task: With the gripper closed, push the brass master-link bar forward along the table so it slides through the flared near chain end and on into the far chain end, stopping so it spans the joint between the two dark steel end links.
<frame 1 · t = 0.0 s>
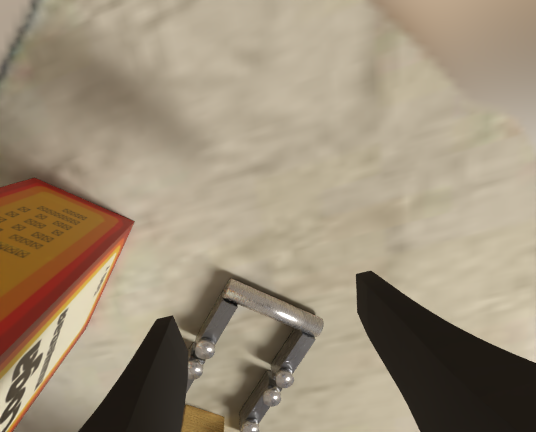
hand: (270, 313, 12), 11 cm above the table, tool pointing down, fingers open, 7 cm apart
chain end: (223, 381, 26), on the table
baking soda box: (63, 258, 21), on the table
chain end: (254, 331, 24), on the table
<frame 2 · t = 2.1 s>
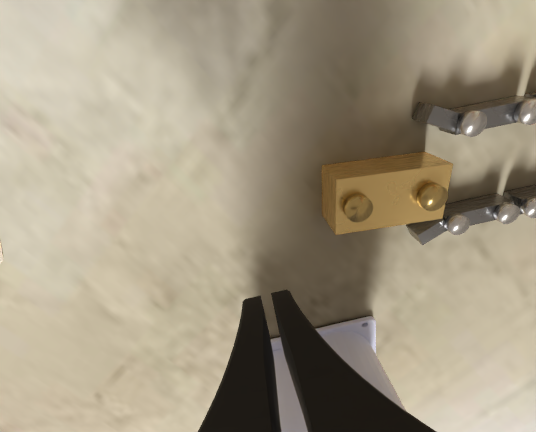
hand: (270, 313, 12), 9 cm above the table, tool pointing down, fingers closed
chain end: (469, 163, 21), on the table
master link: (370, 183, 21), on the table
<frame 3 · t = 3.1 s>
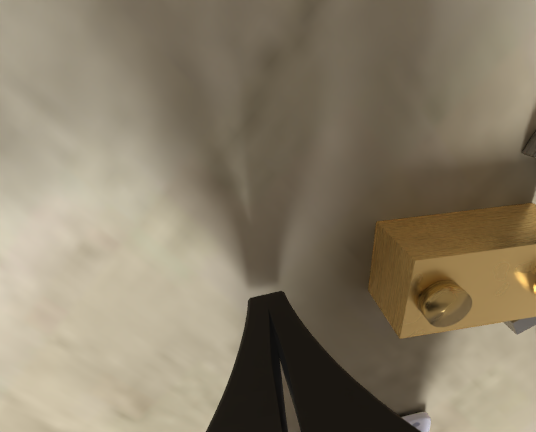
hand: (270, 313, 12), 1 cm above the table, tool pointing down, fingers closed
master link: (443, 245, 14), on the table
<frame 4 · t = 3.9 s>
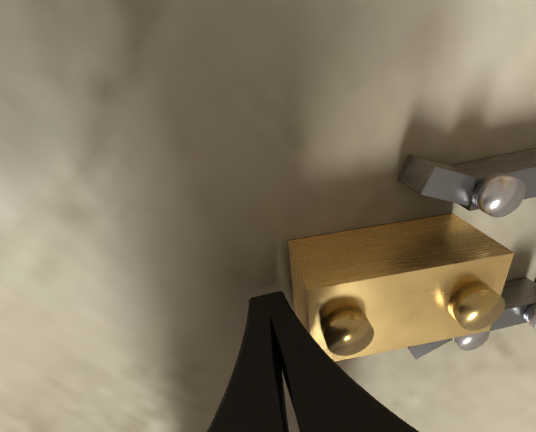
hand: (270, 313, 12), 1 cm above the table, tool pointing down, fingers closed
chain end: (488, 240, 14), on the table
master link: (370, 262, 13), on the table, touching gripper
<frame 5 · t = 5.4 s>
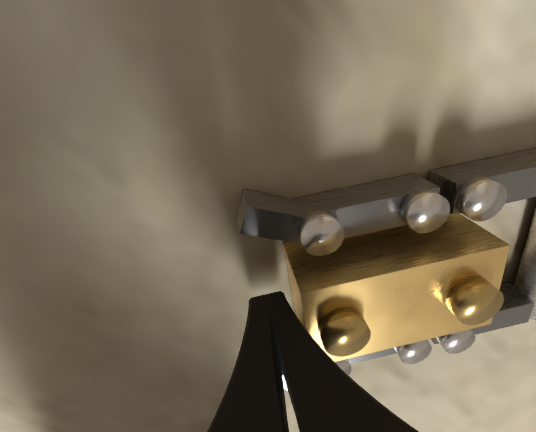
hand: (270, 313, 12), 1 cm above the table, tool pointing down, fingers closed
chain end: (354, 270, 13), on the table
master link: (367, 260, 13), on the table, touching gripper
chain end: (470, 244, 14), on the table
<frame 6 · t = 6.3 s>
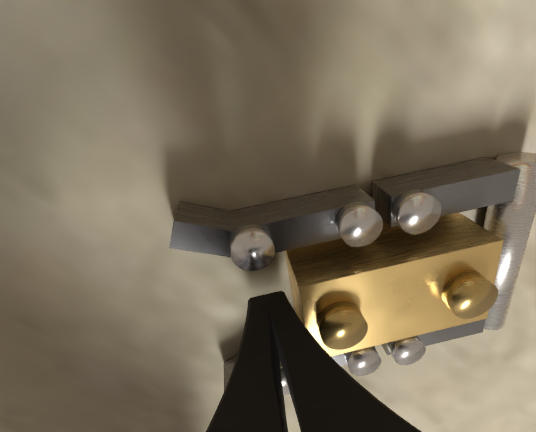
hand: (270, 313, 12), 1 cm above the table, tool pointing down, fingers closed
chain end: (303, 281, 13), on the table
master link: (365, 257, 13), on the table
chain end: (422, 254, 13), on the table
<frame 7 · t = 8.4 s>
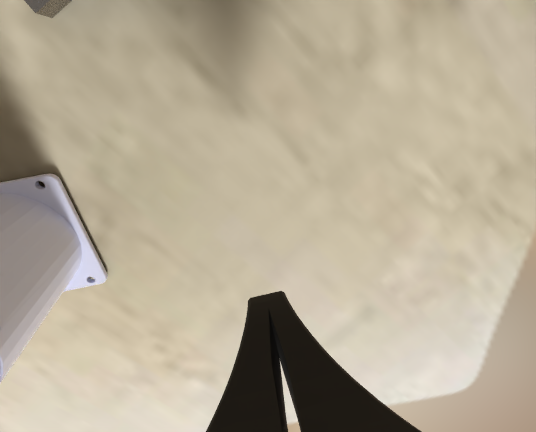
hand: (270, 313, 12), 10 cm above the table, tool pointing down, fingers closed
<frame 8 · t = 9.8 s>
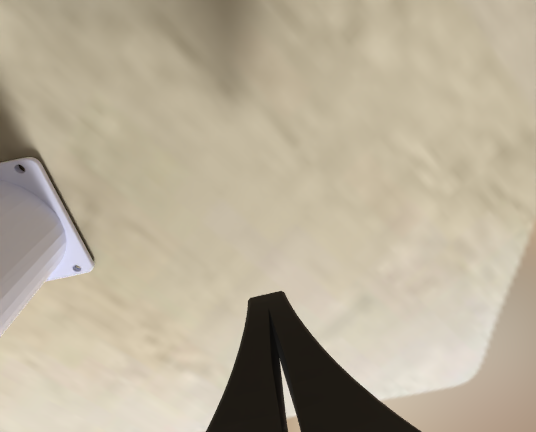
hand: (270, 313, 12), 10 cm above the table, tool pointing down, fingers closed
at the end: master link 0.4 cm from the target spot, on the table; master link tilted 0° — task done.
